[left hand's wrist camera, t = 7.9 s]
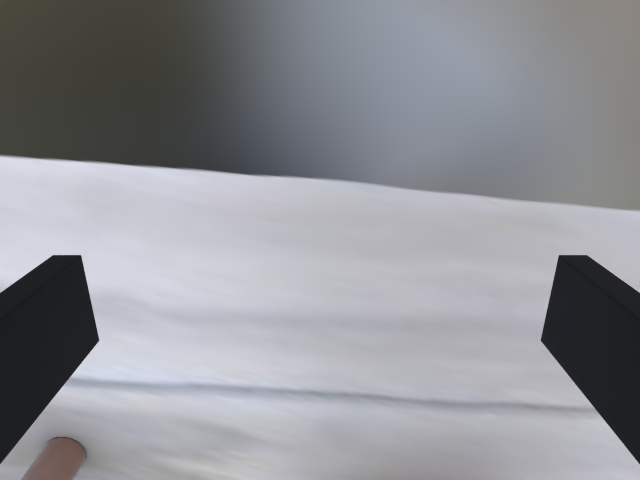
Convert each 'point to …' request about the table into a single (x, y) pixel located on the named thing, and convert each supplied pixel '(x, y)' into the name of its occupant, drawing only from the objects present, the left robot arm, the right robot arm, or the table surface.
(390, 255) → the table surface
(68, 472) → the jar
